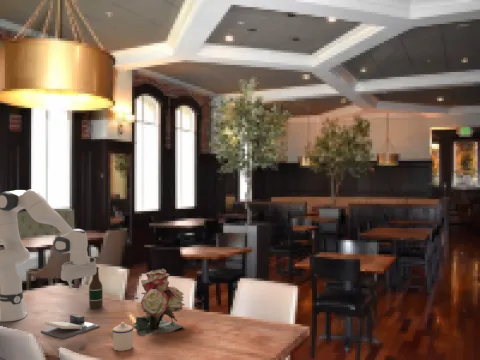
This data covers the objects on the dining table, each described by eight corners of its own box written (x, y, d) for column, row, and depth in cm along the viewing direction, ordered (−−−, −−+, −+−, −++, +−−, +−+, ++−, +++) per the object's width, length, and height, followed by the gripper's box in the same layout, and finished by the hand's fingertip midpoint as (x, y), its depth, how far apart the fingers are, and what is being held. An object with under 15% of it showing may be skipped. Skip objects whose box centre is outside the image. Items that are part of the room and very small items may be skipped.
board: (41, 332, 251) (40, 326, 251) (77, 321, 269) (77, 316, 269) (63, 338, 240) (62, 333, 240) (99, 327, 258) (99, 321, 258)
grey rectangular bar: (68, 323, 263) (68, 315, 263) (76, 320, 267) (76, 313, 267) (87, 328, 254) (87, 320, 254) (95, 325, 258) (95, 318, 258)
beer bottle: (89, 308, 295) (88, 268, 295) (89, 305, 302) (88, 266, 302) (102, 307, 297) (102, 267, 297) (102, 304, 305) (102, 265, 304)
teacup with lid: (137, 346, 228) (137, 321, 228) (123, 352, 220) (123, 326, 220) (118, 342, 234) (117, 317, 234) (103, 348, 226) (103, 322, 226)
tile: (45, 321, 251) (45, 324, 250) (62, 326, 243) (62, 329, 242) (65, 321, 260) (64, 324, 260) (82, 326, 252) (82, 328, 252)
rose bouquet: (141, 338, 239) (141, 276, 239) (129, 322, 266) (129, 266, 266) (192, 331, 250) (191, 272, 249) (176, 317, 276) (175, 263, 276)
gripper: (65, 263, 251) (65, 290, 251) (98, 257, 268) (98, 283, 268) (58, 262, 255) (58, 289, 255) (90, 256, 271) (90, 282, 271)
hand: (79, 286), depth 261 cm, fingers open, 8 cm apart
